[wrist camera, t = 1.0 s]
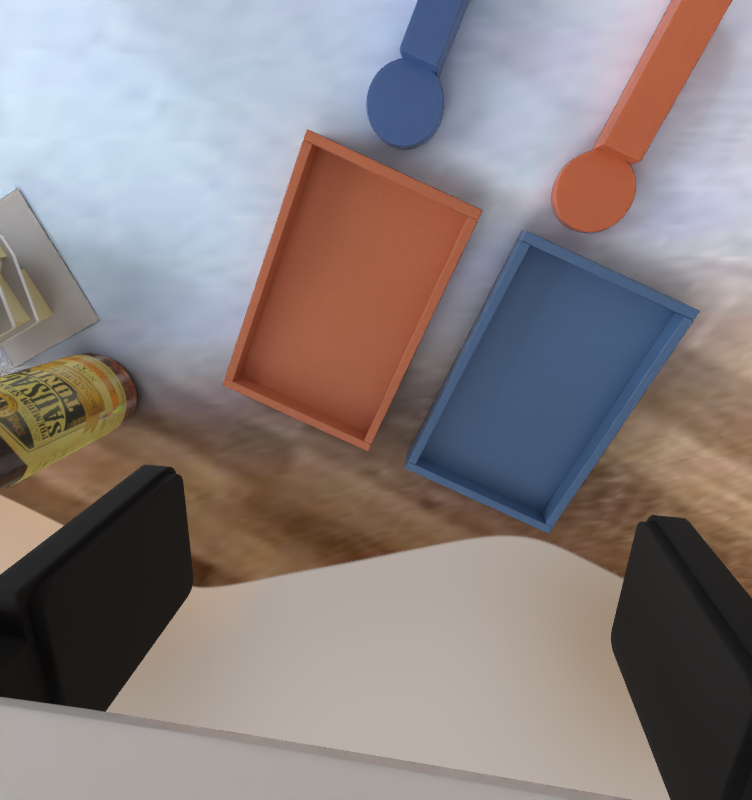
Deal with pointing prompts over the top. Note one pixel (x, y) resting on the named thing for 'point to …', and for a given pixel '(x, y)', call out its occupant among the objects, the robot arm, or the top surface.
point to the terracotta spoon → (635, 119)
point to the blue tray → (545, 381)
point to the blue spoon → (415, 77)
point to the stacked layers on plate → (34, 287)
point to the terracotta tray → (346, 290)
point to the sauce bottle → (59, 411)
